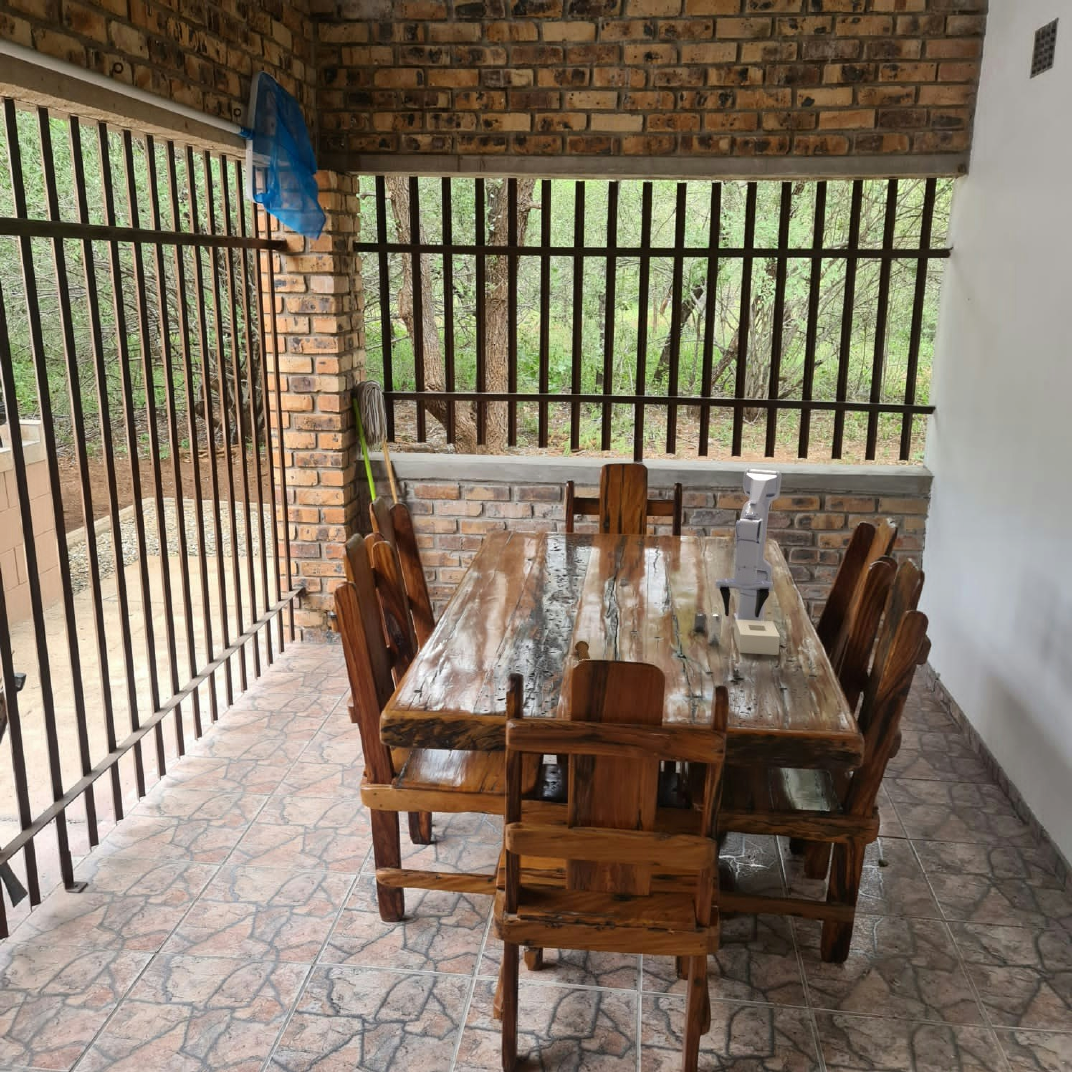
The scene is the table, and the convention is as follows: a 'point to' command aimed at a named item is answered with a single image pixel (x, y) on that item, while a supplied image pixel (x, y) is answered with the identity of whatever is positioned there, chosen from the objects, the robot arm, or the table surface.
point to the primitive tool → (582, 650)
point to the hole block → (756, 637)
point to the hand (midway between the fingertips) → (741, 615)
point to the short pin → (699, 622)
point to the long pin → (714, 629)
